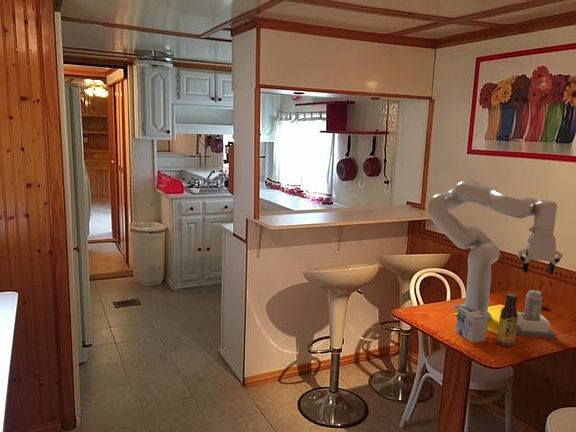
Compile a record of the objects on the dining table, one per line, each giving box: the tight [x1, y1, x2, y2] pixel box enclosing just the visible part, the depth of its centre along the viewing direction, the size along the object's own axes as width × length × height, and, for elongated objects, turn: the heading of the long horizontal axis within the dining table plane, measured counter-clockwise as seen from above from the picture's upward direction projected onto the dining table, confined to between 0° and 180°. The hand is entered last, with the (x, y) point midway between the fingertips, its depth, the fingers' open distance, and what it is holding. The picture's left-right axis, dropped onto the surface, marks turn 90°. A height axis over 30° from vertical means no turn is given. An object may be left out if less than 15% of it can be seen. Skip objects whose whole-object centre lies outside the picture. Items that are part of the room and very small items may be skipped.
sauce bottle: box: [496, 292, 519, 347], centre depth 192 cm, size 6×6×20 cm
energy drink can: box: [523, 289, 544, 321], centre depth 206 cm, size 6×6×15 cm
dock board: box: [516, 311, 557, 339], centre depth 207 cm, size 14×14×6 cm
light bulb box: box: [455, 306, 489, 343], centre depth 199 cm, size 11×7×11 cm, turn 16°
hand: (537, 272), depth 203 cm, fingers open, 9 cm apart
